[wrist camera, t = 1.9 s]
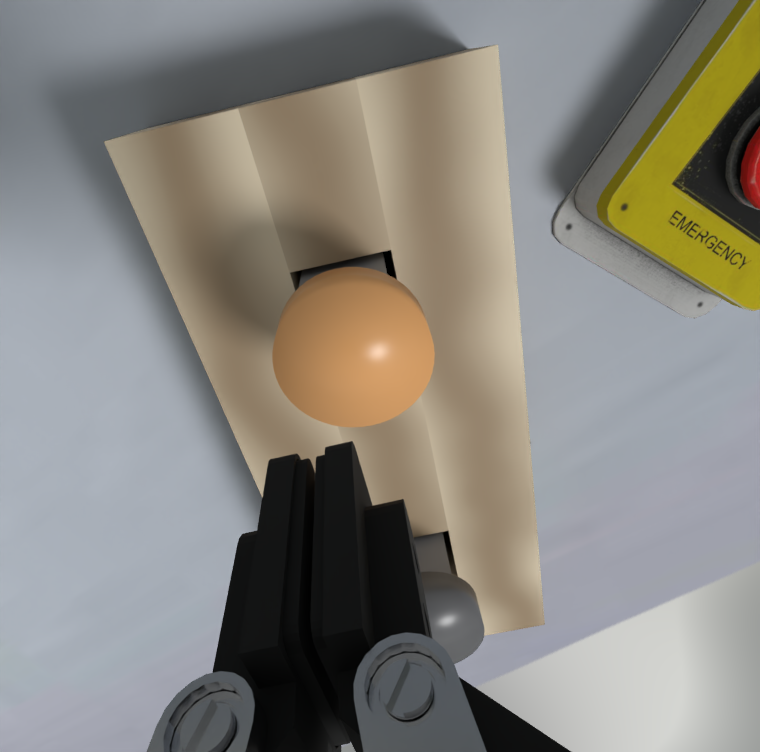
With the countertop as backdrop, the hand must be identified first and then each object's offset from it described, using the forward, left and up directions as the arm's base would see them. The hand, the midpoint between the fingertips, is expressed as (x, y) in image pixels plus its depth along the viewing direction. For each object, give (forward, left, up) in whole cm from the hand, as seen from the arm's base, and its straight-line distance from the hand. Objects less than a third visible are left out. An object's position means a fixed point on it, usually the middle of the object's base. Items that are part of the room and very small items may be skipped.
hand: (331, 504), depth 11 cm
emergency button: (-17, -2, -15) cm, 23 cm away
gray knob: (-1, +14, -11) cm, 18 cm away
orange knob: (-1, 0, -11) cm, 11 cm away
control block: (-1, +7, -14) cm, 15 cm away
